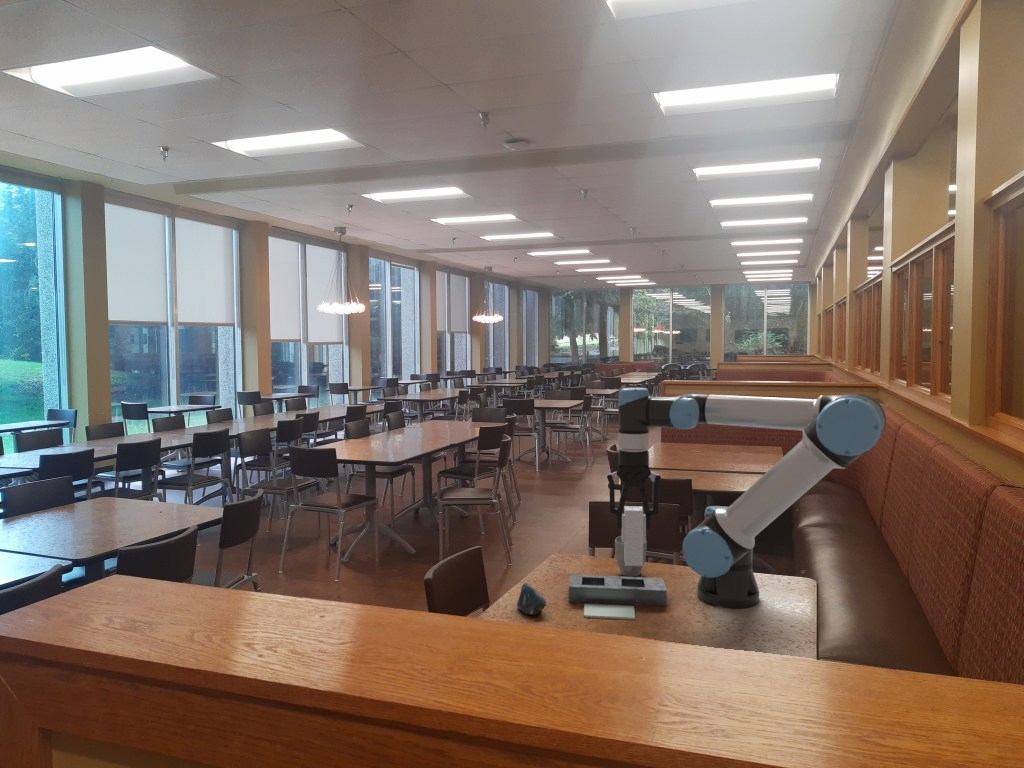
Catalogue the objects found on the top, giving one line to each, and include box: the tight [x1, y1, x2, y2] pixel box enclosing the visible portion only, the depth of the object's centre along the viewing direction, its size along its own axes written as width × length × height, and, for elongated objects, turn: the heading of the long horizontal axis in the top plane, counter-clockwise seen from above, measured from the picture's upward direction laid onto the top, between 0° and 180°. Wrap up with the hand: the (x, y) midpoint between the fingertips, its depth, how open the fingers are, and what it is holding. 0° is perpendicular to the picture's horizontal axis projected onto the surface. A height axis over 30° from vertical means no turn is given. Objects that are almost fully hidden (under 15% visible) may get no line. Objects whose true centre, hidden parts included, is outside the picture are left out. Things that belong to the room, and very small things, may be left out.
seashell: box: [516, 583, 547, 616], centre depth 167 cm, size 6×9×10 cm
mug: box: [614, 535, 648, 577], centre depth 191 cm, size 12×9×10 cm
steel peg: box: [623, 505, 644, 567], centre depth 173 cm, size 4×4×14 cm
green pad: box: [583, 603, 636, 621], centre depth 165 cm, size 12×7×1 cm, turn 82°
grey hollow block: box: [568, 574, 668, 607], centre depth 175 cm, size 24×9×4 cm, turn 82°
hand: (633, 540), depth 173 cm, fingers closed on steel peg, 4 cm apart
